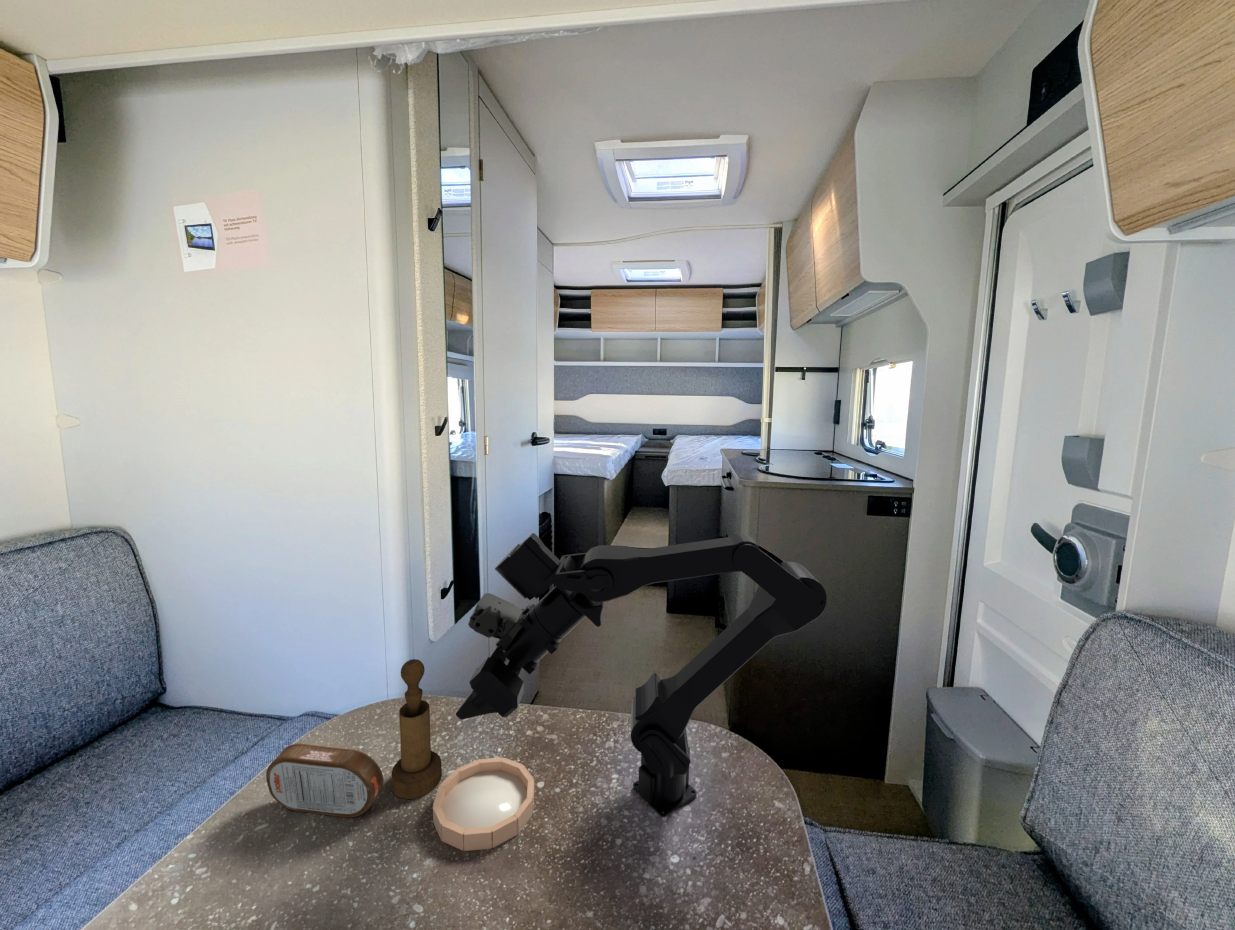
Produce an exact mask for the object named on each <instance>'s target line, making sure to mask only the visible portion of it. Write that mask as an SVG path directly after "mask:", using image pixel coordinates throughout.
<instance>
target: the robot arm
mask: <svg viewBox="0 0 1235 930" xmlns="http://www.w3.org/2000/svg"><path fill="white" fill-rule="evenodd" d="M494 570H495V571H496V572H497V573H498V574H499V575H500V576H501V577H502V578H503V580H505V581H506V582H507V583H508V584H509V585H510V587H512V588H513V589H514V590H515V591H516V592H517V593H518V594H519V595H520V596H521V597H523V599H527V600H529V601H531V600H533V599H534V598H535V599H538V598H540V597H542V596H543V595H544V593H546V592H547V590H549V589H550V588H551V586H552V585H554V587H553V588H552V589H551V590H550V591H548V593H546V594H545V595H544V596H543V597H542V598H541V599H540V600H539V601H538V602H537V603H536V604H535V603H532V604H528V605H527V606H526V607H525V608H520V607H518V606H516V605H515V604H513V603H512V602H510V601H508V600H505V599H503V598H501V597H500V596H497V595H495V594H492V593H489V592H488V593H484V594H483V595H482V597H481V598H480V599H479V601H478V602H477V604H476V606H475V608H474V611H473V612H472V614H471V616H470V617H469V621H468V622H467V623H468V627H469V628H470V629H471V630H473V631H474V632H476V633H478V634H479V635H482V636H484V637H486V638H488V639H489V638H494V639H498V641H496V643H495V646H496V647H495V649H494V651H492V653H491V655H490V656H488V657H487V658H485V659H484V660H483V662H482V663H481V664H480V665H479V666H478V667H477V668H476V669H475V671H474V672H473V674H472V677H470V680H469V686H470V688H471V689H472V690H471V692H470V693H469V695H467V697H466V698H465V700H464V701H463V702H462V704H461V705H460V707H459V708H458V709H457V711H456V713H455V716H456V717H457V718H458V719H460V720H461V721H463V720H466V719H471V718H475V717H481V716H484V715H489V714H498V715H499V716H500V717H501V718H508V717H509V716H511V714H512V713H514V711H516V710H517V709H518V707H519V705H520V702H521V700H522V697H523V694H524V692H525V689H524V688H525V681H524V680H523V679H522V678H520V676H519V675H520V673H521V671H522V669H523V670H524V671H525V672H526V673H527V674H528V675H531V674H532V673H533V672H534V671H535V670H536V668H537V665H538V663H539V661H540V660H541V659H543V658H544V657H545V656H546V655H547V654H548V653H549V654H550V655H553V654H554V653H555V652H556V651H557V650H558V648H559V645H560V644H559V643H560V642H561V641H562V640H563V639H564V638H565V637H566V636H567V635H568V634H569V633H570V632H571V631H573V629H575V628H576V627H577V626H578V625H579V624H580V623H581V622H582V621H584V619H585V618H587V619H589V621H590V622H591V623H592V624H593V625H594V626H595V627H597V628H598V627H601V626H602V621H603V616H604V613H603V609H604V604H605V603H606V602H609V601H612V600H616V599H619V598H623V597H625V596H628V595H630V594H632V593H634V592H636V591H639V590H640V589H642V588H643V587H646V586H649V585H653V584H658V583H659V584H660V583H665V582H666V583H667V582H673V581H679V580H681V581H682V580H686V579H694V578H700V577H707V576H715V575H722V574H723V575H724V574H730V573H737V572H740V573H743V574H744V575H746V576H747V577H748V578H750V579H751V580H752V581H753V582H755V583H756V584H757V585H758V586H757V589H756V591H755V593H754V596H753V597H752V600H751V602H750V604H749V606H748V607H747V608H746V609H745V610H744V611H743V612H742V613H741V614H740V615H739V616H738V617H737V618H736V619H735V620H733V621H732V622H731V623H730V624H729V625H728V626H727V627H726V628H725V629H724V630H723V631H722V632H721V633H719V634H718V635H717V636H716V637H715V638H714V639H712V641H710V643H709V644H707V646H705V647H704V648H703V649H702V650H701V651H700V652H698V654H697V655H696V656H694V658H692V659H691V660H690V661H689V662H688V663H687V664H686V665H685V666H683V668H682V669H681V670H679V671H678V672H677V673H676V674H675V675H673V676H671V677H668V678H667V677H666V678H663V679H661V678H660V677H659V675H658V674H657V673H656V672H654V673H653V674H652V675H650V677H649V678H648V679H647V681H646V682H645V683H644V684H643V685H641V686H639V687H635V691H634V692H635V693H634V694H635V695H634V697H633V698H632V701H631V707H630V708H631V709H630V710H631V711H630V713H631V714H630V719H631V720H630V740H631V743H632V745H633V748H635V749H636V750H637V752H640V753H641V754H640V765H639V767H638V780H637V781H635V782H634V783H632V788H633V790H634V791H635V792H636V793H637V794H638V795H639V796H640V797H641V798H642V800H644V802H646V803H647V805H648V806H650V808H652V809H653V810H654V811H655V812H656V813H657V814H658V815H659V816H660V817H661V818H666V817H667V816H668V815H670V814H672V813H673V812H676V810H678V809H679V808H681V807H682V806H684V805H686V804H687V803H689V802H690V801H692V800H693V799H695V798H697V794H698V792H697V790H696V789H695V788H694V787H693V786H691V785H690V784H689V782H690V765H691V762H692V761H691V749H690V747H689V740H688V733H687V726H688V725H689V721H690V720H691V718H692V715H693V714H694V712H695V710H696V708H698V706H699V705H701V704H702V703H703V702H704V701H705V700H706V699H707V698H708V697H710V696H711V695H712V694H714V692H715V691H716V690H717V689H718V688H720V687H721V686H722V685H723V684H724V683H725V682H726V681H728V679H730V678H731V677H732V676H733V675H734V674H735V673H736V672H737V671H738V670H740V669H741V668H742V667H743V666H744V665H745V664H746V663H747V662H749V660H750V659H752V658H753V657H754V656H755V655H757V653H759V651H761V650H762V649H763V648H764V647H765V646H766V645H768V644H769V643H770V642H771V640H773V639H775V638H776V637H779V636H784V635H787V634H791V633H794V632H799V630H801V629H803V628H805V626H807V625H809V624H810V623H812V622H814V621H815V620H817V619H818V618H819V617H821V616H822V614H823V613H824V612H825V610H826V608H827V607H828V605H827V592H826V589H825V587H824V586H823V585H822V584H821V582H820V581H818V579H817V578H816V577H814V575H813V574H812V573H811V572H810V571H809V570H808V569H807V568H806V567H805V566H803V564H801V563H799V562H795V561H784V559H782V558H780V557H779V556H778V555H777V554H775V553H773V552H772V551H770V550H769V549H767V548H766V547H763V546H762V545H760V544H759V543H758V542H756V541H755V540H754V539H753V538H752V537H750V535H748V534H746V533H737V534H736V533H735V534H734V535H731V536H727V537H721V538H720V537H719V538H715V539H714V538H713V539H705V540H699V541H692V542H685V543H678V544H671V545H664V546H658V547H651V548H638V547H633V546H629V545H617V544H616V545H615V544H614V545H613V544H612V545H609V544H607V545H606V544H603V545H602V544H601V545H600V544H599V545H596V546H593V547H591V548H590V549H589V550H587V552H584V553H583V552H582V553H581V552H580V553H572V554H564V555H562V556H561V558H560V559H559V558H558V557H557V556H556V555H555V554H554V553H553V552H552V551H551V550H550V549H549V548H548V547H547V546H546V545H545V544H544V542H543V541H542V540H541V538H540V537H539V536H538V535H537V534H536V533H533V532H532V533H531V534H529V536H528V537H526V538H525V539H524V540H523V541H522V542H521V543H517V545H516V546H514V548H513V549H511V550H510V551H509V552H508V554H506V555H505V556H504V557H503V559H502V560H501V561H499V563H498V564H497V565H496V566H495V567H494Z"/></svg>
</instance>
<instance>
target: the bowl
mask: <svg viewBox="0 0 1235 930" xmlns="http://www.w3.org/2000/svg"><path fill="white" fill-rule="evenodd" d="M534 801H535V778H534V777H533V776H532V774H531V773H530V771H528V769H527V768H526V766H525V765H524V764H523V763H520V762H517V761H516V760H512V759H509V758H506V757H493V758H492V757H491V758H490V757H488V758H479V759H476V760H473V761H472V762H469V763H467V764H465V765H463V766H460V767H457V768H456V769H455V770H454V771H452V773H450V774H449V776H448V777H446V778H445V779H444V780H443V781H442V782H441V783H440V785H439V784H438V788H437V791H436V794H435V797H434V800H433V804H432V819H433V820H432V823H433V825H434V828H435V829H436V832H437V834H438V836H439V839H440V841H441V842H442V843H445V844H448V845H449V846H450V847H451V846H452V847H454V848H456V849H459V850H460V851H462V852H463V851H464V852H468V851H478V850H479V851H481V850H490V849H491V850H492V848H493V849H494V848H496V847H498V846H499V845H502V844H503V843H505V842H506V841H509V840H510V839H512V838H514V837H515V836H517V835H519V834H520V833H521V831H522V829H523V828H524V827H525V826H526V824H527V823H528V821H529V820H530V819H531V818H532V816H533V815H534V814H533V813H534V806H535V802H534Z"/></svg>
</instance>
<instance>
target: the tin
mask: <svg viewBox="0 0 1235 930" xmlns="http://www.w3.org/2000/svg"><path fill="white" fill-rule="evenodd" d="M265 778H266V783H267V787H268V791H269V793H270V796H272V798H273V799H274V800H275V801H276V802H277V803H278V804H280V805H281V806H283V807H284V808H285V809H288V810H291V811H295V812H303V813H307V814H308V813H309V814H310V813H311V814H317V815H324V816H325V815H326V816H331V817H332V816H333V817H341V818H356V817H359V816H362V815H363V814H365V813H366V812H367V811H368V810H369V809H370V808H371V806H372V805H373V804H374V802H375V800H376V799H378V797H379V796H380V795H381V793H382V792H383V789H384V784H385V782H384V780H385V779H384V774H383V772H382V769H381V767H380V766H379V764H378V763H377V761H376V760H375V759H374V758H372V757H371V756H370V755H368V754H367V753H365V752H363V751H360V750H359V749H358V750H357V749H352V748H346V747H345V748H343V747H335V746H328V745H327V746H325V745H318V744H310V743H303V742H302V743H300V742H299V743H292V744H289V745H288V746H286V747H284V749H282V751H281V752H280V753H279V755H278V756H276V757H275V759H273V760H272V762H271V763H270V764H269V765H268V767H267V769H266V777H265Z"/></svg>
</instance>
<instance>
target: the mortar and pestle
mask: <svg viewBox="0 0 1235 930" xmlns="http://www.w3.org/2000/svg"><path fill="white" fill-rule="evenodd" d="M425 669H426V668H425V665H424V663H423V662H422V661H421V660H420V659H418V658H417V659H415V658H413V659H409V660H406V662H405V663H404V664H403V665H402V667H401V668H400V677H401V679H402V681H403V682H404V684H406V685H407V690H406V691H405V692H404V698H405V703H404V704H403V705H402V706H400V709H399V710H398V711H399V712H398V713H399V716H398V718H399V735H400V736H399V738H400V759H398V761H397V762H396V763H395V764H394V766H393V768H392V770H391V791H392V792H393V794H394V795H395V796H396V797H398V798H399V799H404V800H413V799H417V798H420V797H423V796H425V795H427V794H428V793H431V792H432V791H433V790H434V789H435V788H436V787H437V786H439V783H440V782H441V780H442V777H443V775H442V774H443V771H442V758H441V757H440V755H439V754H438V753H437V752H435V751H432V745H431V718H430V717H431V715H430V714H431V713H430V711H431V710H430V704H429V702H428V701H426V700H423V699H422V697H423V694H424V693H423V691H424V690H423V689H422V688H421V687H420V682H421V680H422V679H423V677H424V674H425Z"/></svg>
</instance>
